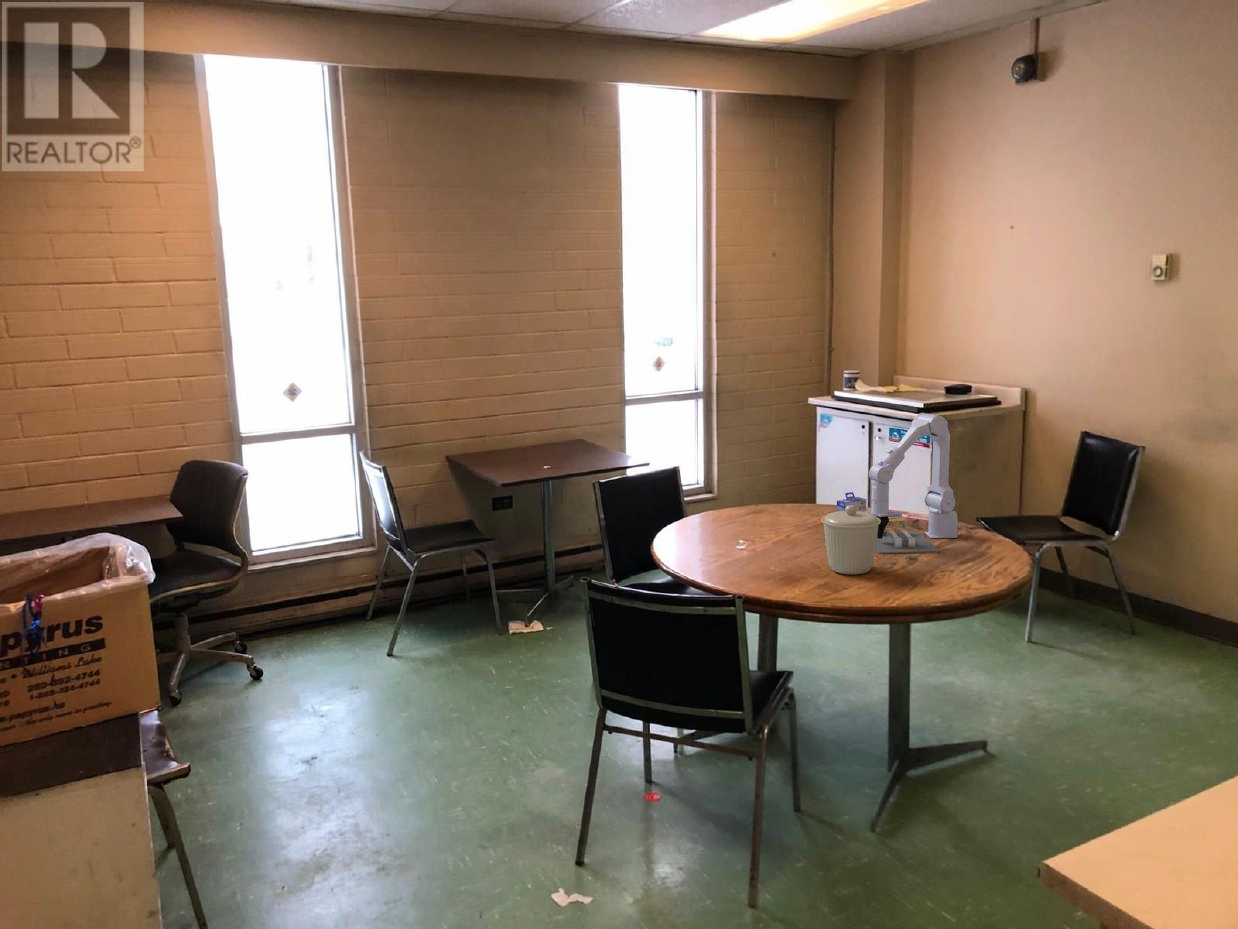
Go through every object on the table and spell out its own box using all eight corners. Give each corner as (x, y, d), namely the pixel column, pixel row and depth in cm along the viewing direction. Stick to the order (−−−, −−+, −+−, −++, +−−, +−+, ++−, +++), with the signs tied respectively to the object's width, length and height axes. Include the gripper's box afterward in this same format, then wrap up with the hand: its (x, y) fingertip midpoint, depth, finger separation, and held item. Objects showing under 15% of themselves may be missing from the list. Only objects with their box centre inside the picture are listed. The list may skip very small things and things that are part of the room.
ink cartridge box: (857, 528, 358) (857, 490, 355) (867, 532, 353) (867, 492, 350) (835, 532, 353) (836, 493, 351) (845, 535, 349) (845, 496, 346)
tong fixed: (902, 534, 344) (902, 526, 344) (915, 547, 328) (915, 538, 328) (896, 535, 344) (896, 526, 344) (908, 547, 328) (908, 539, 328)
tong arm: (890, 535, 344) (891, 527, 344) (901, 547, 328) (901, 539, 328) (884, 535, 345) (884, 527, 344) (894, 548, 328) (895, 539, 328)
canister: (823, 578, 301) (823, 512, 297) (819, 561, 318) (819, 499, 314) (883, 579, 298) (884, 512, 294) (876, 562, 316) (877, 498, 312)
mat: (917, 532, 349) (917, 530, 349) (939, 552, 324) (939, 550, 324) (861, 534, 350) (861, 532, 350) (878, 554, 324) (879, 552, 324)
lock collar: (902, 532, 347) (902, 518, 347) (904, 534, 345) (904, 520, 344) (878, 533, 348) (879, 519, 347) (880, 535, 345) (881, 521, 344)
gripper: (861, 502, 330) (861, 541, 332) (904, 501, 329) (903, 540, 332) (856, 498, 336) (856, 536, 339) (899, 496, 336) (898, 535, 339)
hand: (879, 537), depth 336 cm, fingers closed
